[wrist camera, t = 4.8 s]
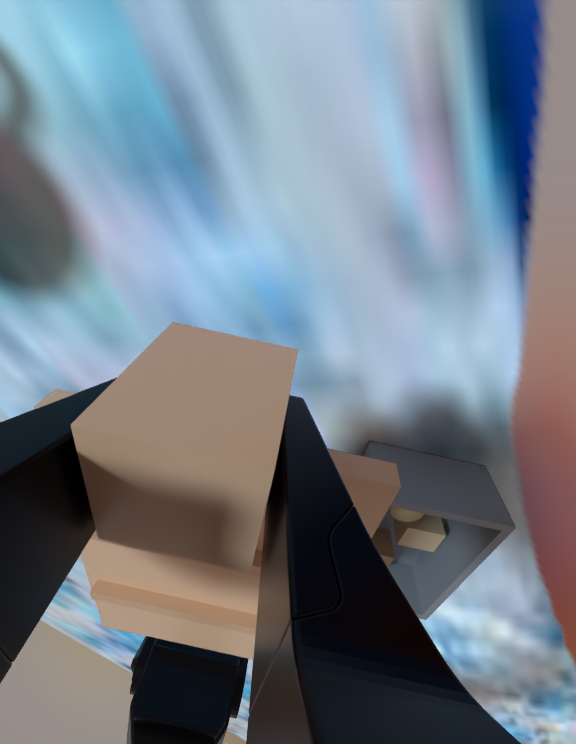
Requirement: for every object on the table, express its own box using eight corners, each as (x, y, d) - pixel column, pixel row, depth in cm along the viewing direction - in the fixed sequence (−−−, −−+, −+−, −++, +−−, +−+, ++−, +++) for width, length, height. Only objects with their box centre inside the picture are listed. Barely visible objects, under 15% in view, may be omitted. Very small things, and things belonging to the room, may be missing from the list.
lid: (297, 649, 17) (288, 752, 14) (112, 608, 17) (65, 703, 14) (441, 381, 8) (506, 520, 5) (30, 290, 8) (-161, 374, 5)
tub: (414, 561, 33) (426, 619, 29) (325, 541, 33) (323, 597, 29) (485, 466, 25) (516, 527, 21) (369, 440, 25) (376, 496, 21)
